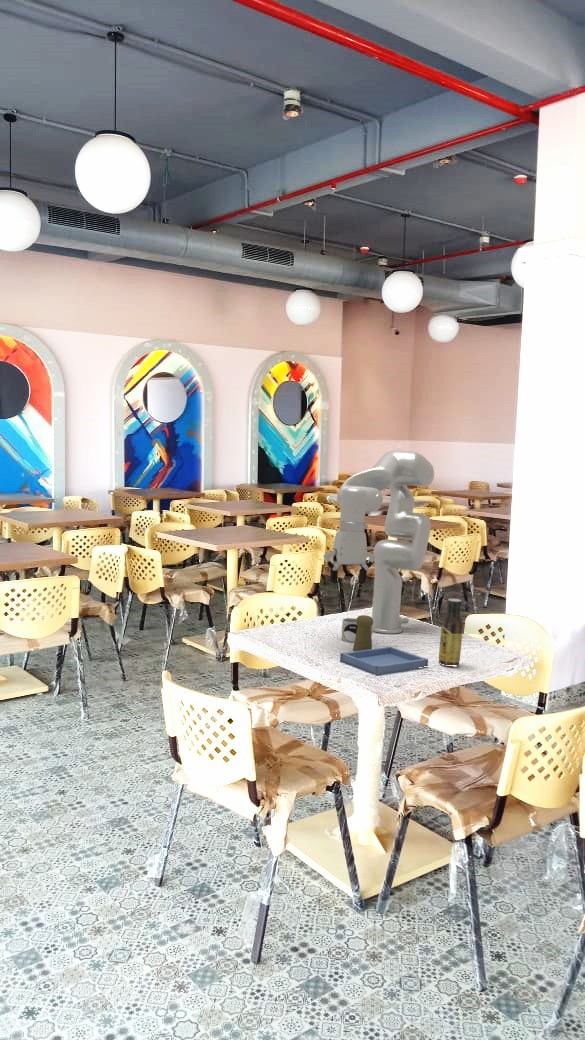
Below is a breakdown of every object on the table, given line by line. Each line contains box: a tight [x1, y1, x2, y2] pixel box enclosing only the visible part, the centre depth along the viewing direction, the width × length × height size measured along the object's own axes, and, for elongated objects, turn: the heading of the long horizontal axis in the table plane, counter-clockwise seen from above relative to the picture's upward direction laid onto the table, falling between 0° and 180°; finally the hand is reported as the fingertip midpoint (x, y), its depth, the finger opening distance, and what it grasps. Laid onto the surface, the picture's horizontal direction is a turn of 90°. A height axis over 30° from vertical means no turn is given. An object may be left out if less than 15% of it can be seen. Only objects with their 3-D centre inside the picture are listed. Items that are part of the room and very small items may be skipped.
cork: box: [352, 614, 373, 652], centre depth 255 cm, size 6×6×11 cm
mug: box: [340, 617, 373, 644], centre depth 268 cm, size 10×7×7 cm
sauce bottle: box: [438, 598, 464, 666], centre depth 243 cm, size 6×6×20 cm
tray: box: [339, 646, 429, 676], centre depth 240 cm, size 20×16×2 cm
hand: (348, 582), depth 254 cm, fingers open, 9 cm apart
